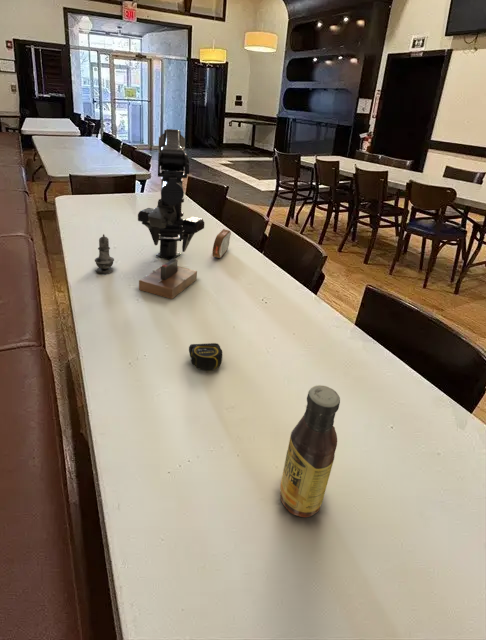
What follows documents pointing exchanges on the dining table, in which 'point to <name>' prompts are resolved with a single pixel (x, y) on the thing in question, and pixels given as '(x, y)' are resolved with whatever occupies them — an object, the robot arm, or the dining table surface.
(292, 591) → the dining table surface
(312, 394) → the sauce bottle
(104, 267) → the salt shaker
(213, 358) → the tape measure
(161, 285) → the wooden block
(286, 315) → the dining table surface
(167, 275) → the dark grey block
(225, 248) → the brown white rounded block
